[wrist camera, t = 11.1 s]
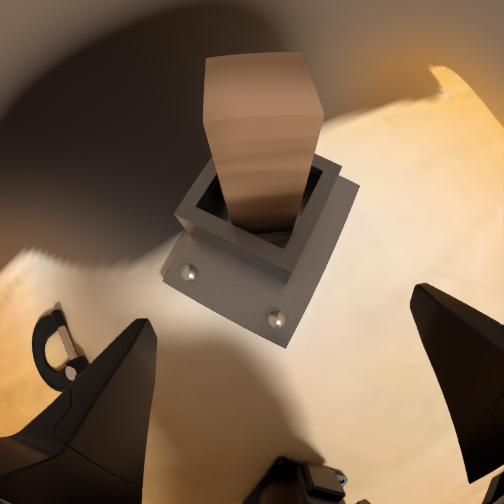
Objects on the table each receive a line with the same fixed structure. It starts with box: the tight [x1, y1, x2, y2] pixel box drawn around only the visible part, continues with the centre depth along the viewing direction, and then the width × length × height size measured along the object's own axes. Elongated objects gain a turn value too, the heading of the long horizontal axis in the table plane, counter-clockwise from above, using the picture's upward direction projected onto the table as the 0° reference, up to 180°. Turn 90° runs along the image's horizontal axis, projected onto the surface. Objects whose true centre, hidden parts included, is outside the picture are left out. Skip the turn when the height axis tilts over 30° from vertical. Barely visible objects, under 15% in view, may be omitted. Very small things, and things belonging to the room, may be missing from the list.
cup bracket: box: [163, 154, 360, 349], centre depth 19 cm, size 14×10×5 cm
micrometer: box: [32, 309, 89, 392], centre depth 17 cm, size 15×7×2 cm, turn 32°
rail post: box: [203, 52, 324, 238], centre depth 15 cm, size 4×4×12 cm
